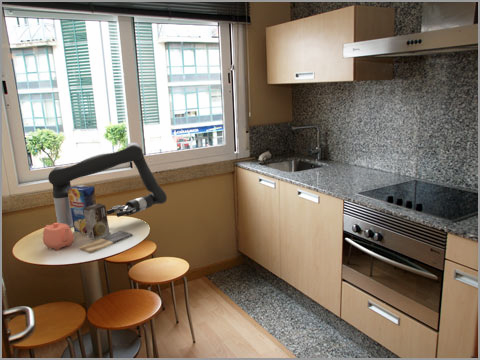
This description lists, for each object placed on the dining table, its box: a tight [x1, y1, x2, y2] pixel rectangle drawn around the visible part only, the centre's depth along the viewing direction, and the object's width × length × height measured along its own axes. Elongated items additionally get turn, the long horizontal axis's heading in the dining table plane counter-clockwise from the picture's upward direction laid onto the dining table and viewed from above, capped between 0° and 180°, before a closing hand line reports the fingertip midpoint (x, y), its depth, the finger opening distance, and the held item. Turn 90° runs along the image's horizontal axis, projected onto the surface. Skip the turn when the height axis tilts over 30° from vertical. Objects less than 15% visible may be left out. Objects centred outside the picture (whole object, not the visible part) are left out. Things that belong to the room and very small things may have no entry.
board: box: [78, 230, 134, 254], centre depth 193 cm, size 10×24×1 cm, turn 144°
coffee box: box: [83, 202, 111, 241], centre depth 200 cm, size 9×6×16 cm
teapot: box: [42, 222, 75, 252], centre depth 189 cm, size 20×12×12 cm, turn 56°
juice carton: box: [67, 184, 98, 235], centre depth 208 cm, size 12×8×24 cm, turn 62°
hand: (112, 213), depth 207 cm, fingers open, 8 cm apart
